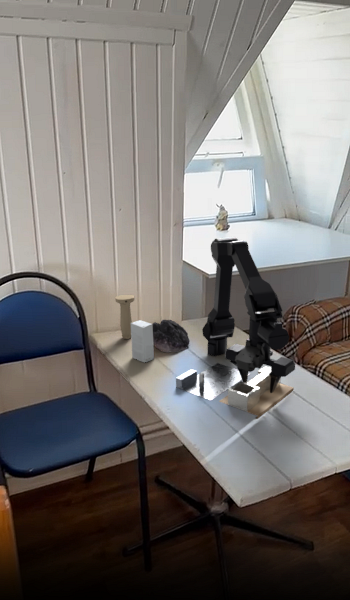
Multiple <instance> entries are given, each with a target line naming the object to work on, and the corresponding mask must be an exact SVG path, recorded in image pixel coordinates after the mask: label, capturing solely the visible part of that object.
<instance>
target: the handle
mask: <svg viewBox="0 0 350 600" xmlns="http://www.w3.org/2000/svg"><path fill="white" fill-rule="evenodd" d="M114 299H115V300H114V301H115V302H116V303H117V304H119V305H120V306H119V309H120V310H119V311H120V314H119V315H120V319H119V320H120V322H119V323H120V331H121V337H122V339H123V340H129V339H131V323H133V320H132V311H131V310H132V309H131V303H133V302H134V301H135V295H134V294H121V295H120V294H119V295H116V296H115V297H114Z"/></svg>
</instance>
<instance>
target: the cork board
mask: <svg viewBox="0 0 350 600" xmlns="http://www.w3.org/2000/svg"><path fill="white" fill-rule="evenodd" d="M256 376H257V375H256ZM256 376H254V377H253V378H255V377H256ZM253 378H251V379H250V380H252V379H253ZM250 380H247V382H249V381H250ZM293 390H295V389H294V387H293V386H290V385H287V384H285V383H284V384H283V383H280V386H279V387H277V388H276V389H275V390H274V392H273V393H270V390H267V391H266V392H265V393H263V394H262V395H261V396H260V401H259V403H258V404H257V405H256V406H254V407H253V408H252V409H250V410H249V411H248V412H247V413H249V414H252V415H255V419H256V420H258V419H260V418H261V417H262V416H263V415H265V414H266V413H267V412H269V411H271V409H273V407H275V406H276V405H278V404H279V403H280V402H281V401H282V400H284V399H285V398H286V397H288V396H289V395H290V394H291V393H292V391H293ZM293 392H294V391H293ZM218 402H220V403H222V404H225V405H227V406H229V405H228V394H227V395H226V396H224V397H223V398H222V399H220V400H219V401H218Z"/></svg>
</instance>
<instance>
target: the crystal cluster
mask: <svg viewBox="0 0 350 600" xmlns="http://www.w3.org/2000/svg"><path fill="white" fill-rule="evenodd" d="M152 324H153V346H154V348H155V349H156V350H159V351H161V352H163V353H172V352H173V353H174V352H183V351H185V350H186V349H188V347H189V345H190V338H189V335H188V332H187V331H186V329H185V328H184V327H183V326H182V325H181V324H179V323H178V322H177V321H174V320H172V319H162V320H161V321H160V323H158V322H156V321H154V322H153V323H152Z"/></svg>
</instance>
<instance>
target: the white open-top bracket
mask: <svg viewBox="0 0 350 600" xmlns="http://www.w3.org/2000/svg"><path fill="white" fill-rule="evenodd" d="M271 372H272V371H271V366H268V365H265V366H264V367H263V366H262V367H261V368H259V370H257V375H256V377H255V376H254V377H255V378H254V377H252V378H251V379H252V380H251V379H250V380H248V381H249V382H248V381H247V383H245V382H243V381H242V380H241V381H239V382H238V383H236V384H235V385H233V386H232V387H230V388H229V389H227V395H228V405H227V406H230V407H233V408H236V409H238V410H240V411H243V412H246V413H249V412H248V411H249V410H250V409H252V408H253V407H254V406H256V405H257V404H258V403H259V401H260V396H261V395H262V394H263V393H265V392H266V391H267V390H270V381H271V377H270V375H269V373H271ZM281 380H282V377H281V378H280V380H279V382H278V384H277V386H276V388H277V387H279V386H280V383H281ZM281 384H282V383H281ZM276 388H275V389H276Z"/></svg>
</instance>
